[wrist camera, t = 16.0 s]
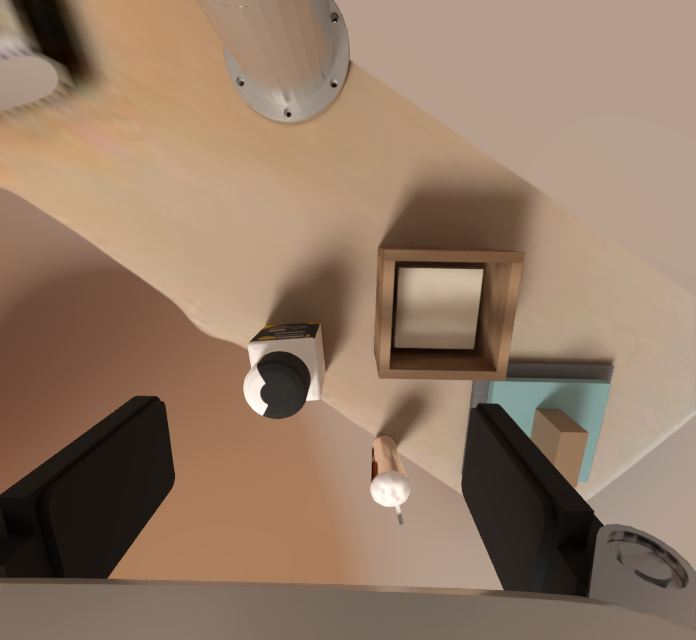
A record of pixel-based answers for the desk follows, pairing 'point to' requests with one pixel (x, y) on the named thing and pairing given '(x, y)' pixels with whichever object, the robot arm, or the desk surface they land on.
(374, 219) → the desk surface
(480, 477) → the robot arm
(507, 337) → the storage box
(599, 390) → the lid
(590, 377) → the desk mat
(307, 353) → the medicine bottle
